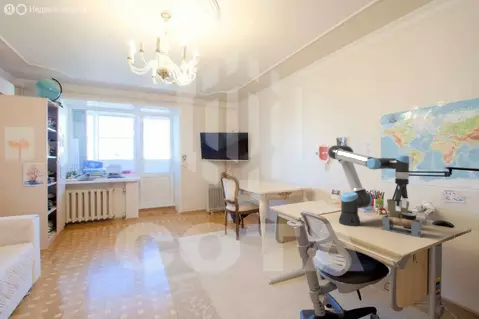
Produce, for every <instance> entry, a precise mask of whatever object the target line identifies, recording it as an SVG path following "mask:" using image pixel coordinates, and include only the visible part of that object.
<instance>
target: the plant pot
mask: <svg viewBox="0 0 479 319" xmlns="http://www.w3.org/2000/svg"><path fill="white" fill-rule="evenodd" d="M394 199H395V198H392V199H391V198H388V199H386V203H387V208H388V211H389V212H388V213H389V215H390V216H393V217H394V218H399V214H400V218H401V219H402V215H401V214H402V213H408V210H409V206H410V201H408V200H407V204H406V208H402V199H401V211H396V201H394Z"/></svg>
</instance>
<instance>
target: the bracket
mask: <svg viewBox="0 0 479 319" xmlns="http://www.w3.org/2000/svg"><path fill="white" fill-rule="evenodd" d="M388 217H393V216H390V214H385V215H383V216H382V218H381V220H382V222H381V223H382V225H383V227H381V230H382V231H387V232H391V233H398V234H402V235H406V236H412V237H417V238H421V237H423V236H424V232H422V230H423V227H424V226H423V222H424V221H423V220H421V219H416V220H414V221H418V222H419V223H417V222H411V229H406V228H399V227H394V225H392V224H390V218H388Z"/></svg>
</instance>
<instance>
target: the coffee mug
mask: <svg viewBox="0 0 479 319" xmlns="http://www.w3.org/2000/svg"><path fill="white" fill-rule="evenodd" d="M401 215H402V219H407V220H413V221H414V220H417V214H416V213H412V212H407V213H402V214H401ZM399 218H400V214H399ZM403 229H406V230H411V228H409V227H403Z"/></svg>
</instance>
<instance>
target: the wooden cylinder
mask: <svg viewBox="0 0 479 319" xmlns="http://www.w3.org/2000/svg"><path fill="white" fill-rule="evenodd" d="M388 218H390V224H392V225H393V226H399V227H403V228H404V227H409V228H411V222H417V223H419V222H418V221H413V220H407V219H401V218H394V217H388Z"/></svg>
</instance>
